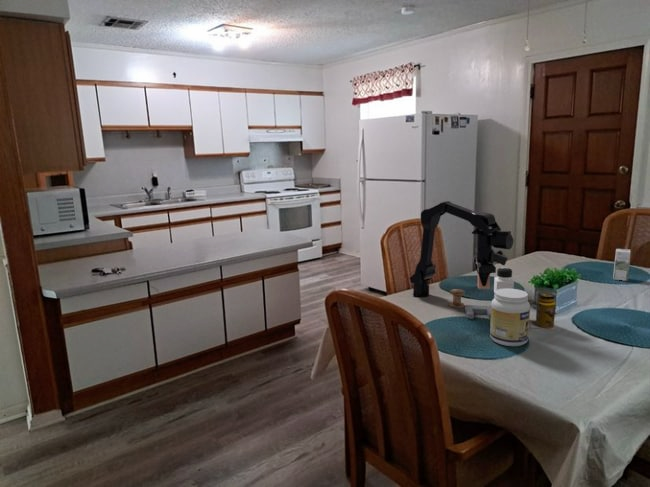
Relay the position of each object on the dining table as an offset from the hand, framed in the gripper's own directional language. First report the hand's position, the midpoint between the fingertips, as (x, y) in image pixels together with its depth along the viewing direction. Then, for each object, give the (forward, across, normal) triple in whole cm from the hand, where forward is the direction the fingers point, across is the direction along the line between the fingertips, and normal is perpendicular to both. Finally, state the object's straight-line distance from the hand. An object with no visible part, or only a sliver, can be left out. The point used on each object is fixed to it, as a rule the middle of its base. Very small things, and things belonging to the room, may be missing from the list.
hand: (483, 284), depth 178 cm
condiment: (+12, -12, -19) cm, 26 cm away
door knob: (+11, +5, +10) cm, 16 cm away
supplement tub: (+12, -27, -5) cm, 30 cm away
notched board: (+11, -4, +2) cm, 12 cm away
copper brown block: (+1, 0, 0) cm, 1 cm away
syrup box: (+12, +50, -69) cm, 86 cm away
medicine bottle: (+12, +22, -12) cm, 28 cm away
